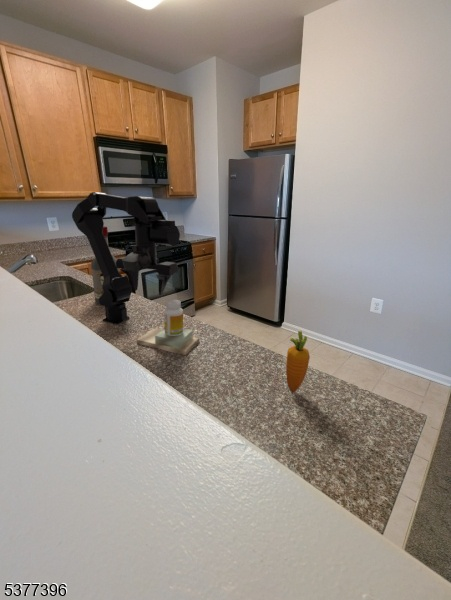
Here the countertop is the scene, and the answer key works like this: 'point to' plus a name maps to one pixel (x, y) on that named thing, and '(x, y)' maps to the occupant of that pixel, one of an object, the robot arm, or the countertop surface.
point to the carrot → (297, 362)
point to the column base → (151, 342)
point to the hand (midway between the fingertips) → (147, 292)
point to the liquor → (99, 273)
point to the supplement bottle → (173, 318)
